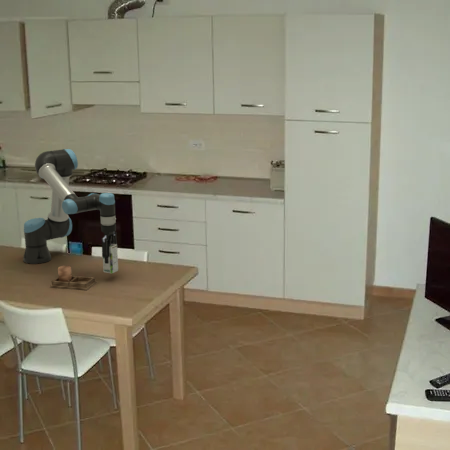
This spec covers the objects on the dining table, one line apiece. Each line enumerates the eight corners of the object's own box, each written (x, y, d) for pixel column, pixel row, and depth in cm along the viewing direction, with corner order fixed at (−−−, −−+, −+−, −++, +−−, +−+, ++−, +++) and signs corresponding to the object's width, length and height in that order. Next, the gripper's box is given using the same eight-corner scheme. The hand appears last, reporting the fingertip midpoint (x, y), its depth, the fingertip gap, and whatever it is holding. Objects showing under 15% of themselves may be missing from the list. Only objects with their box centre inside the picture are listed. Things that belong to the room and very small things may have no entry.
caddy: (50, 287, 348) (48, 270, 346) (61, 280, 359) (60, 263, 357) (86, 290, 343) (85, 273, 341) (97, 282, 354) (96, 265, 352)
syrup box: (103, 272, 358) (101, 245, 354) (109, 268, 363) (108, 242, 359) (112, 273, 355) (110, 246, 351) (118, 270, 360) (117, 243, 356)
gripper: (107, 229, 342) (109, 273, 348) (122, 219, 361) (124, 261, 367) (93, 228, 344) (95, 272, 350) (109, 218, 362) (111, 260, 368)
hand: (110, 266), depth 358 cm, fingers closed on syrup box, 7 cm apart
